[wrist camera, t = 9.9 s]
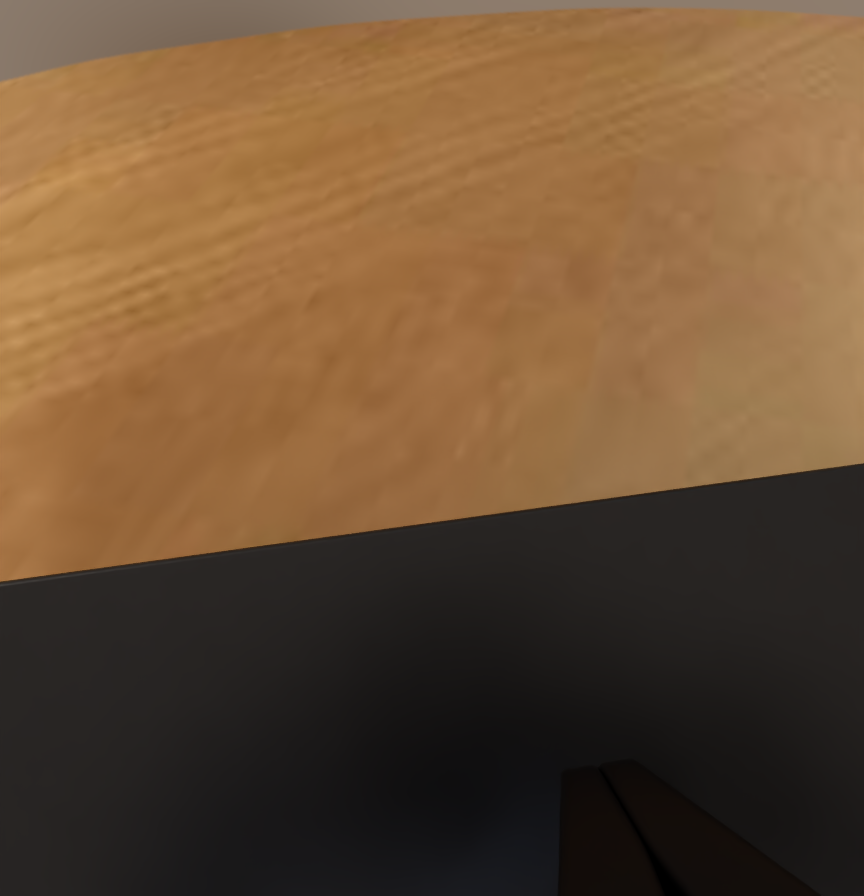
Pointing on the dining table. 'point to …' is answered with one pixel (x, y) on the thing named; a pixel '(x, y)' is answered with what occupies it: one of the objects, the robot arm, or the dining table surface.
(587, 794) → the robot arm
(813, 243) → the dining table surface
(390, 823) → the netbook screen
